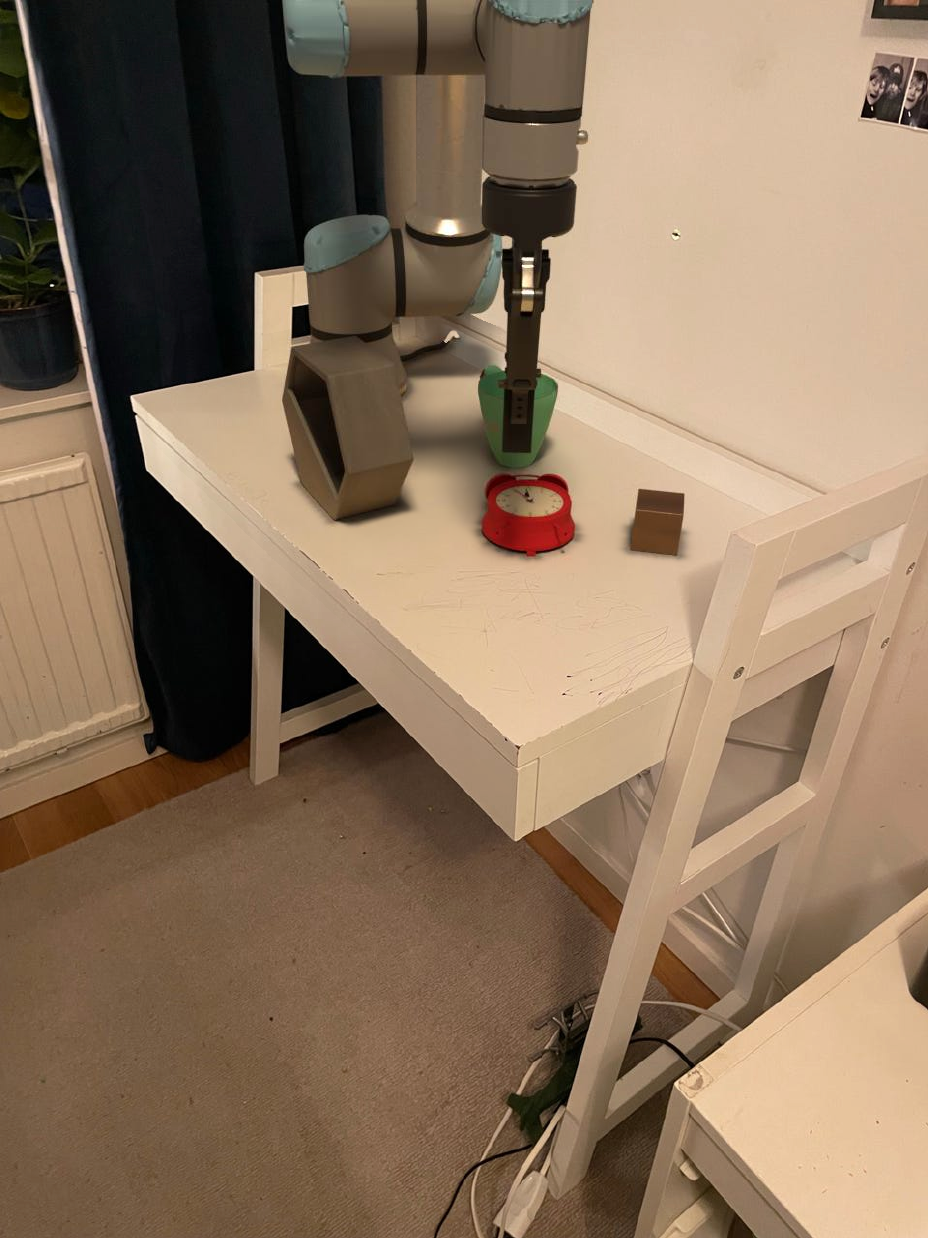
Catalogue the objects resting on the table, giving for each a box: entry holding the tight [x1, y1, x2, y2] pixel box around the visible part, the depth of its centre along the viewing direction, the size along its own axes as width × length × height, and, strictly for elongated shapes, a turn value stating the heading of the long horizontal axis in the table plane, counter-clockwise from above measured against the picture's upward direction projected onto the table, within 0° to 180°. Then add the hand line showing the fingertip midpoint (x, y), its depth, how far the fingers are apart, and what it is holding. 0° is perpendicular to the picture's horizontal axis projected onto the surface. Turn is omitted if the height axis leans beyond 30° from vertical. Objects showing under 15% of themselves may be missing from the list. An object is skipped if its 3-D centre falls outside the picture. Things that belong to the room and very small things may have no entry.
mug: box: [477, 364, 559, 469], centre depth 118 cm, size 15×10×10 cm
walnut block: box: [630, 488, 686, 556], centre depth 102 cm, size 5×5×5 cm
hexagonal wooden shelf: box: [281, 336, 414, 521], centre depth 106 cm, size 17×8×21 cm
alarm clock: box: [481, 472, 576, 557], centre depth 105 cm, size 10×6×15 cm
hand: (516, 449), depth 88 cm, fingers closed
